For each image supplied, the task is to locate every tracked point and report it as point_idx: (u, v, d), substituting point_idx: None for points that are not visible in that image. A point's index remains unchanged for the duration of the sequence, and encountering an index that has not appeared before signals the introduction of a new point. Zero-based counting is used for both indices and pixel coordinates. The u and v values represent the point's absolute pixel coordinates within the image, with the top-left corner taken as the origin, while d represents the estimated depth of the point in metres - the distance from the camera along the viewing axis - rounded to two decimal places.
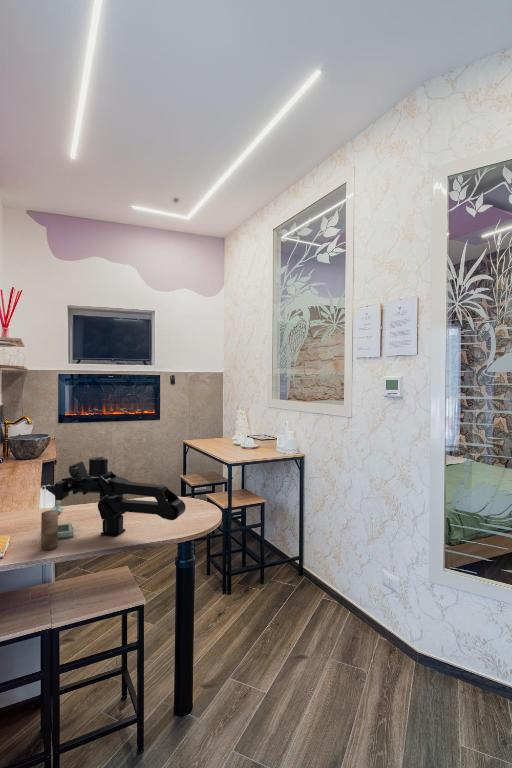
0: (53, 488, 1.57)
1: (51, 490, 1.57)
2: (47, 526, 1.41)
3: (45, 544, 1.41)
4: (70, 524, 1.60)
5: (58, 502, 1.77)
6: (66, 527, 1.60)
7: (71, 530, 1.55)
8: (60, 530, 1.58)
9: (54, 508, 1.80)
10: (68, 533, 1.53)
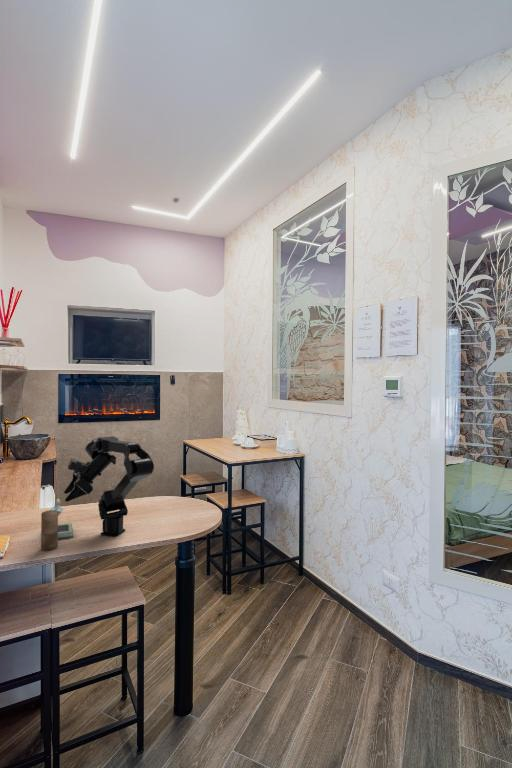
0: (74, 492, 1.55)
1: (74, 496, 1.55)
2: (47, 526, 1.41)
3: (45, 544, 1.41)
4: (70, 524, 1.60)
5: (57, 502, 1.77)
6: (66, 527, 1.60)
7: (71, 530, 1.55)
8: (60, 530, 1.58)
9: (53, 508, 1.80)
10: (68, 533, 1.53)
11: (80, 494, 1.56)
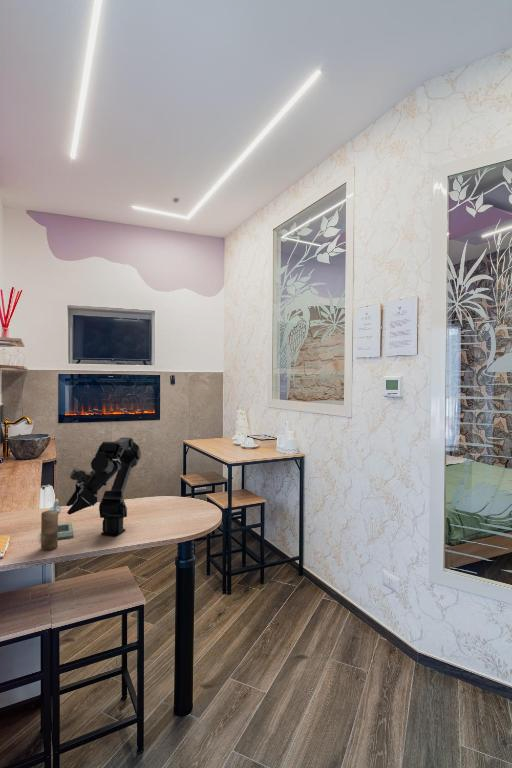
0: (77, 504, 1.42)
1: (77, 508, 1.42)
2: (47, 526, 1.41)
3: (45, 544, 1.41)
4: (70, 524, 1.60)
5: (56, 502, 1.77)
6: (66, 527, 1.60)
7: (71, 530, 1.55)
8: (60, 530, 1.58)
9: (52, 508, 1.79)
10: (68, 533, 1.53)
11: (84, 506, 1.42)
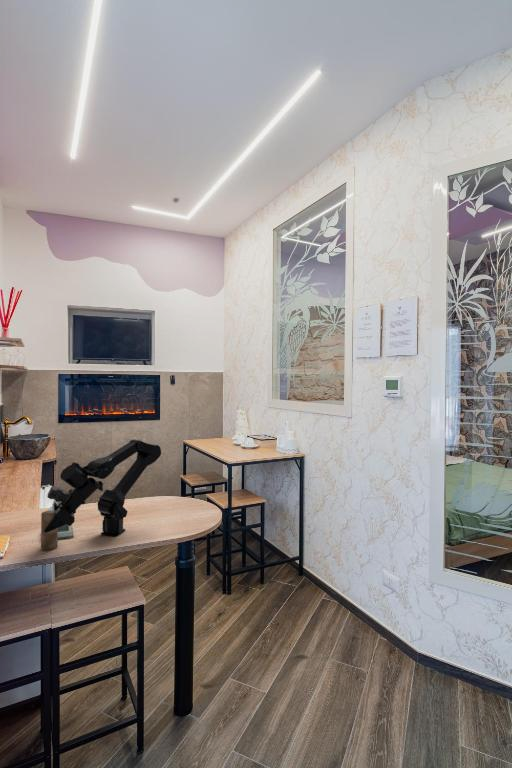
0: (54, 522, 1.41)
1: (53, 526, 1.41)
2: None
3: (45, 544, 1.41)
4: None
5: (55, 502, 1.77)
6: (66, 527, 1.60)
7: (71, 530, 1.55)
8: (60, 530, 1.58)
9: (51, 508, 1.79)
10: (68, 533, 1.53)
11: (61, 524, 1.41)
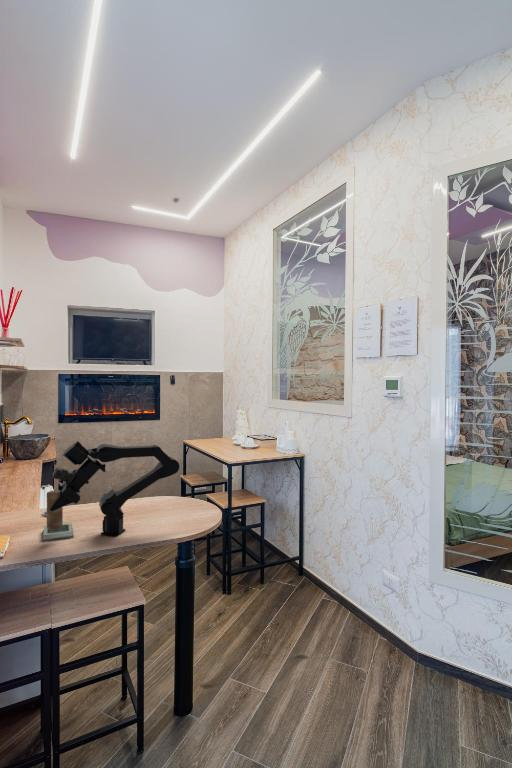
0: (60, 501, 1.46)
1: (59, 505, 1.46)
2: None
3: (51, 523, 1.47)
4: (70, 524, 1.60)
5: None
6: (66, 527, 1.60)
7: (71, 530, 1.55)
8: (60, 530, 1.58)
9: None
10: (68, 533, 1.53)
11: (66, 503, 1.47)
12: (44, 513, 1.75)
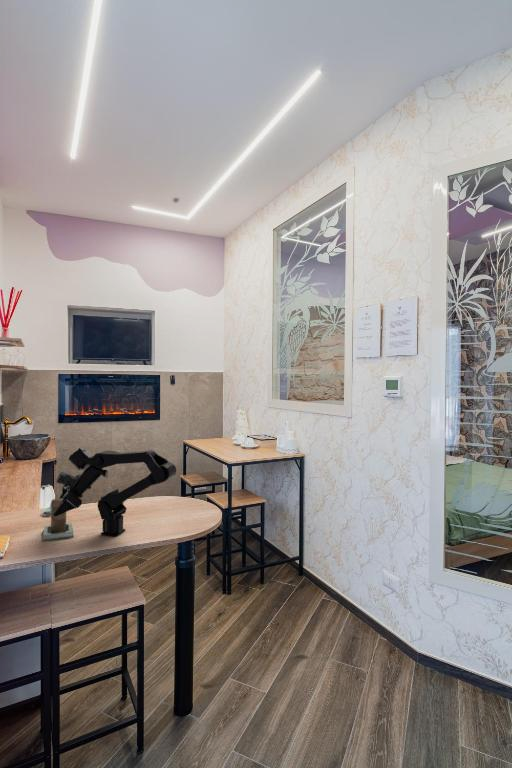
0: (63, 507, 1.51)
1: (62, 510, 1.51)
2: None
3: (55, 529, 1.53)
4: (70, 524, 1.60)
5: None
6: (66, 527, 1.60)
7: (71, 530, 1.55)
8: None
9: (49, 508, 1.79)
10: (68, 533, 1.53)
11: (69, 508, 1.51)
12: (43, 513, 1.75)
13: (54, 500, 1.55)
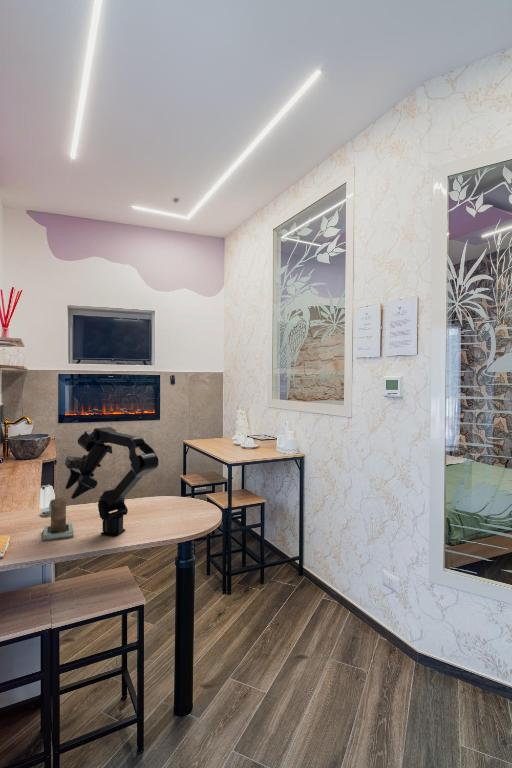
0: (79, 489, 1.56)
1: (79, 492, 1.56)
2: (56, 512, 1.53)
3: (55, 529, 1.53)
4: (70, 524, 1.60)
5: None
6: (66, 527, 1.60)
7: (71, 530, 1.55)
8: None
9: (48, 508, 1.79)
10: (68, 533, 1.53)
11: (85, 489, 1.57)
12: (42, 513, 1.75)
13: (53, 500, 1.55)
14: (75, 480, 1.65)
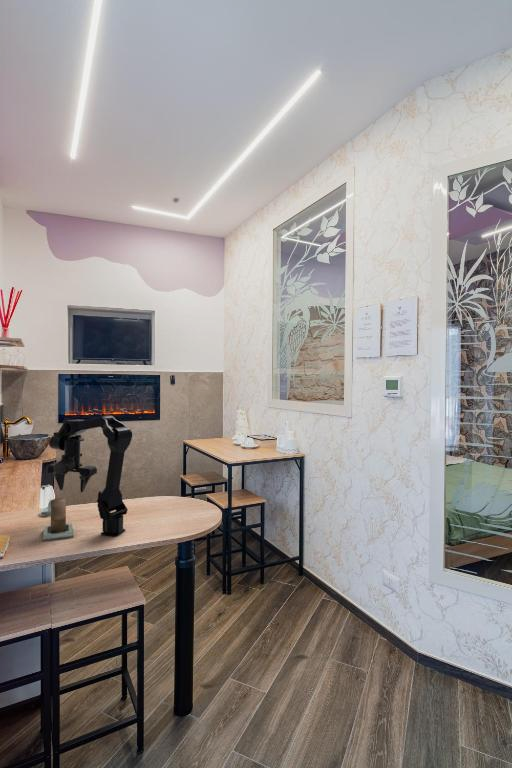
0: (84, 482, 1.67)
1: (85, 484, 1.68)
2: (56, 512, 1.53)
3: (55, 529, 1.53)
4: (70, 524, 1.60)
5: (50, 502, 1.76)
6: (66, 527, 1.60)
7: (71, 530, 1.55)
8: None
9: (47, 508, 1.79)
10: (68, 533, 1.53)
11: (88, 478, 1.69)
12: (41, 513, 1.75)
13: (53, 500, 1.55)
14: (63, 479, 1.71)
